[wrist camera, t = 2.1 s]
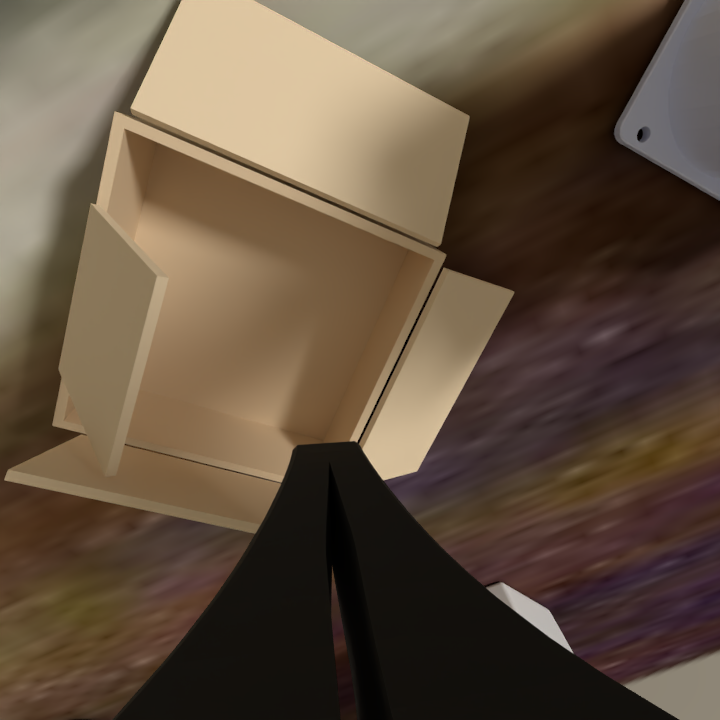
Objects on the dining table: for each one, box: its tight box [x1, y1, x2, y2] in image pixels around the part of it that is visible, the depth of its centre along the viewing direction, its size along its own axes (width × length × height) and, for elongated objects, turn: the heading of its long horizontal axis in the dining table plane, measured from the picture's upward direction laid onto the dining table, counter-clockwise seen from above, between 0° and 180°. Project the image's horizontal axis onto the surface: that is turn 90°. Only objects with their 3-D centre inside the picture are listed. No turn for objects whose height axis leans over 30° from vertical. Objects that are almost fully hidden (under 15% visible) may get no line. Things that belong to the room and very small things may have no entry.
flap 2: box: [4, 435, 281, 534], centre depth 13 cm, size 8×1×5 cm, turn 67°
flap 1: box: [58, 203, 169, 477], centre depth 11 cm, size 1×5×5 cm
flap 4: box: [359, 268, 515, 480], centre depth 18 cm, size 1×9×5 cm
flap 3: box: [130, 0, 470, 247], centre depth 13 cm, size 9×1×5 cm
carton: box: [52, 112, 447, 482], centre depth 16 cm, size 10×10×4 cm
